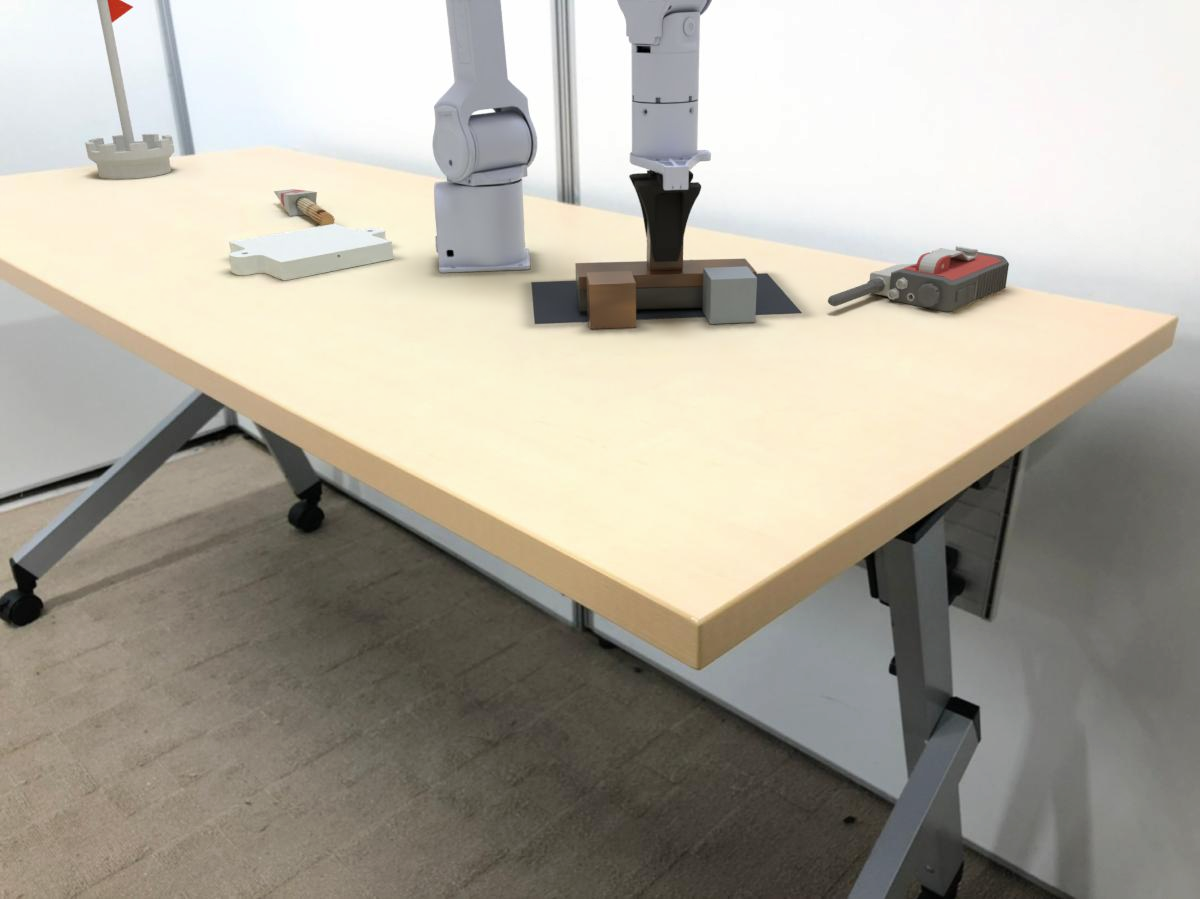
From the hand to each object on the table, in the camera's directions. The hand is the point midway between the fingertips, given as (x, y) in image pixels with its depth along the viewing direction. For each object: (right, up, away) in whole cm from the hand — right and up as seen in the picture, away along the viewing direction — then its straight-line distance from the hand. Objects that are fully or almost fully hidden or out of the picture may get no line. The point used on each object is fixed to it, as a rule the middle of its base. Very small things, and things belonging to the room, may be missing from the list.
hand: (663, 256), depth 96 cm
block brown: (-5, -6, -3) cm, 8 cm away
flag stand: (-82, +27, +77) cm, 116 cm away
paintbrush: (-45, +13, +44) cm, 64 cm away
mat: (0, -3, +5) cm, 5 cm away
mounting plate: (-38, +3, +21) cm, 43 cm away
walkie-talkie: (+24, -4, +2) cm, 25 cm away
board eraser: (0, -4, +2) cm, 4 cm away
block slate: (+6, -6, -2) cm, 8 cm away
